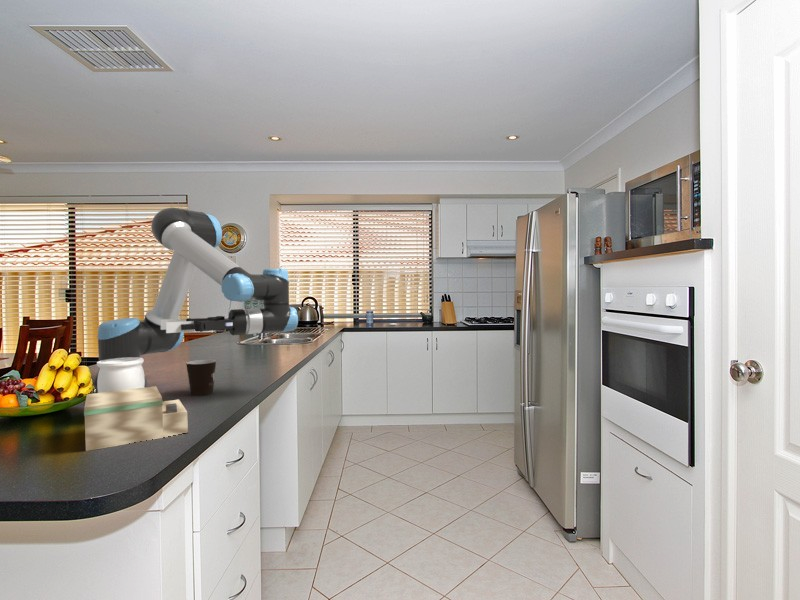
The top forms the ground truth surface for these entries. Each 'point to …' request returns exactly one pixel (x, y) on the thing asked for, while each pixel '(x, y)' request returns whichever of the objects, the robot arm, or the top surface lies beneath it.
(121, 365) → the jar
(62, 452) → the top surface
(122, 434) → the step stand
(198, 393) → the coffee mug
